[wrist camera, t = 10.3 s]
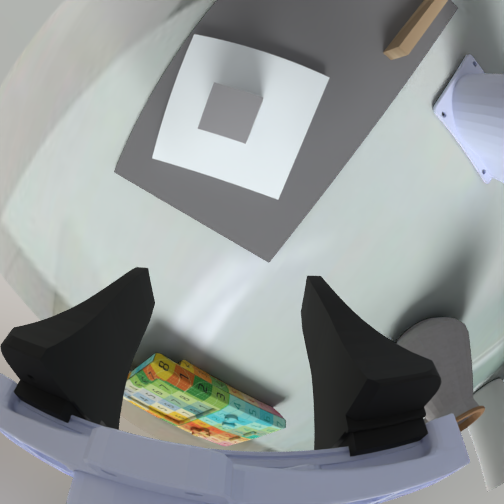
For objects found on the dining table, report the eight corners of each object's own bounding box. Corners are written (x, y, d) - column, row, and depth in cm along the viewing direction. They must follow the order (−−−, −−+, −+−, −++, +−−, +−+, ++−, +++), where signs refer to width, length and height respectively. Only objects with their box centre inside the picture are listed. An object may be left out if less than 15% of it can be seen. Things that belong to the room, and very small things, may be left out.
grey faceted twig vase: (434, 288, 23) (505, 402, 10) (468, 324, 26) (517, 411, 13) (304, 396, 32) (312, 499, 19) (356, 411, 35) (372, 494, 22)
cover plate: (325, 79, 15) (348, 68, 10) (277, 194, 19) (282, 222, 15) (198, 38, 14) (176, 15, 9) (158, 155, 18) (126, 171, 13)
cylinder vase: (502, 384, 38) (533, 457, 16) (464, 413, 42) (488, 488, 20) (500, 370, 34) (538, 457, 12) (456, 405, 39) (485, 494, 17)
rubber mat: (455, 8, 10) (458, 7, 9) (268, 259, 22) (268, 262, 22) (319, -86, 6) (320, -88, 6) (116, 170, 19) (113, 172, 18)
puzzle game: (227, 450, 34) (109, 396, 27) (229, 426, 38) (120, 369, 32) (286, 433, 30) (150, 367, 23) (284, 405, 34) (162, 334, 27)
